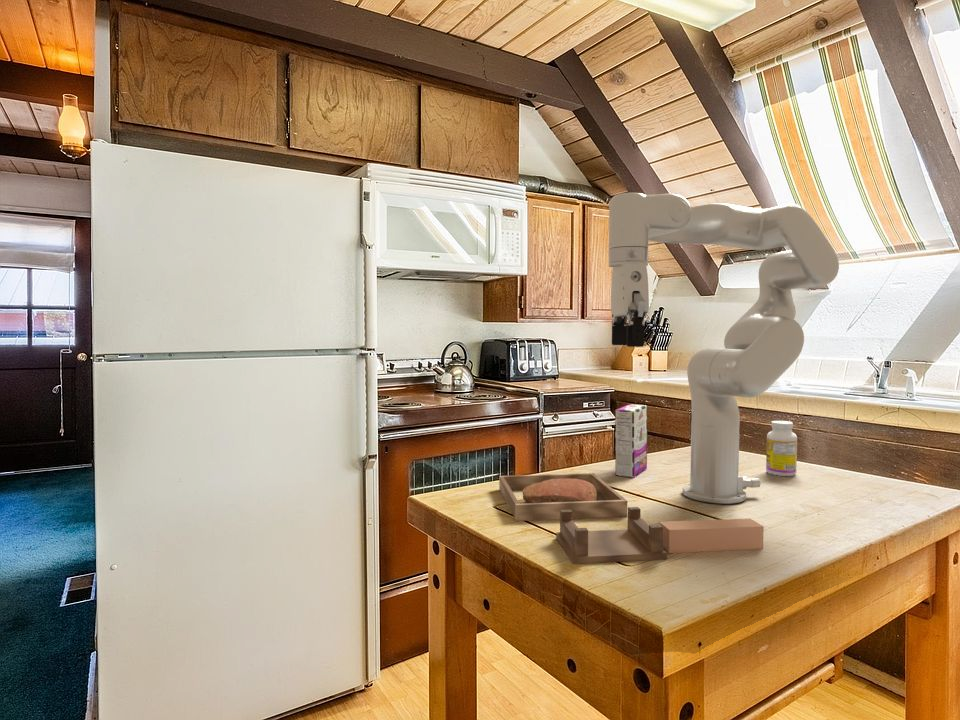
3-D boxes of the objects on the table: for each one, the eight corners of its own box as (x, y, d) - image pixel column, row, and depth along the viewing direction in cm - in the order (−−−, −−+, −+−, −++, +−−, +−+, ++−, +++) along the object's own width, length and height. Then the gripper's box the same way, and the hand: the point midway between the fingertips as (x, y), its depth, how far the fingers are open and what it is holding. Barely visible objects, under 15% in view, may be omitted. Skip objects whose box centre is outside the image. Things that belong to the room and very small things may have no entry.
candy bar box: (628, 466, 152) (628, 403, 151) (647, 468, 150) (648, 405, 149) (613, 475, 143) (614, 408, 142) (633, 478, 140) (634, 410, 139)
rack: (640, 534, 102) (640, 506, 102) (667, 559, 92) (667, 527, 91) (556, 538, 101) (556, 509, 101) (573, 563, 90) (573, 531, 90)
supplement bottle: (768, 469, 149) (769, 419, 148) (798, 472, 145) (799, 421, 144) (763, 474, 144) (764, 422, 143) (794, 478, 140) (795, 425, 139)
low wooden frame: (593, 486, 134) (593, 473, 134) (627, 516, 112) (627, 500, 112) (499, 489, 131) (499, 475, 131) (515, 520, 110) (515, 505, 110)
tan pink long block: (749, 541, 100) (749, 518, 100) (763, 550, 96) (763, 526, 96) (658, 545, 98) (659, 521, 98) (669, 554, 94) (669, 530, 94)
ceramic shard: (529, 468, 130) (597, 481, 127) (524, 497, 130) (593, 510, 127) (522, 475, 116) (598, 490, 113) (516, 508, 115) (593, 524, 112)
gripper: (663, 253, 107) (662, 347, 108) (632, 263, 124) (631, 344, 125) (623, 252, 106) (621, 347, 107) (597, 263, 123) (596, 344, 124)
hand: (627, 345), depth 116 cm, fingers open, 9 cm apart
